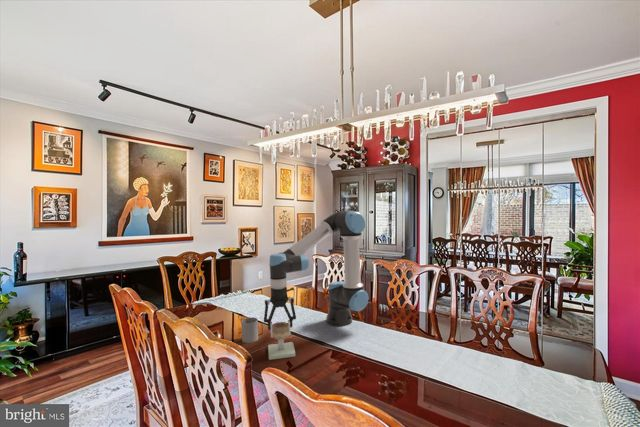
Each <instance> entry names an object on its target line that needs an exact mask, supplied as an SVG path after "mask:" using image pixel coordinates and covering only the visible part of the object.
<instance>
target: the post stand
mask: <svg viewBox="0 0 640 427" xmlns="http://www.w3.org/2000/svg"><path fill="white" fill-rule="evenodd" d="M267 348H268V360H269V361H270V360H278V359H286V358H293V357H296V350H295V345H294V342H293V341H290V342H285V339H277V343H274V344H268V345H267Z"/></svg>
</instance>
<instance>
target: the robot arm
mask: <svg viewBox="0 0 640 427" xmlns="http://www.w3.org/2000/svg"><path fill="white" fill-rule="evenodd" d="M365 228H366V219H365V217H364V216H363V214H362V213H361V212H359V211H354V210H350V211H348V210H346V211H342V210H340V211H336V212H334V213H332V214H330V215H329V216H327V217H326V218H324V219H323V220H322V221H320V223H319V225H318V226H316V228H314V229H313V230H311V231H310V232H309V233H308V234H306V235H305V236H304V237H301V239H299V240H298V241H297V242H295V243H294V244H292V245H291V246H290V247H288V249H286V250H285V251H283V252H278V253H273V254H272V253H271V255H269V276H270V278H269V280H270V281H269V282H270V298H269V299H265V300H264V305H265V307H264V316H263V323H265V324H266V323H267V330H268V331H270V338H272V339H273V334H272V324H273V321H272V319H273V317H274V314H275V310H277V309H278V308H283V309H284V310H285V313H286V315H287V318H288V319H287V323H288V325H289V336H291V334H292V333H291V329H292V328H293V326H294V325H293V321H295V320H296V319H297V316H296V311H295V306H294V302H295V300H294V297H288V287H287V282H288V281H287V274H289V273H290V274H291V273H296V272H297V273H298V272H302V271H306V270H307V269H308V268H309V265H310V262H309V257H308V256H307V255H306V253H308V252H309V251H310V250H311V249H313V248H314V247H315V246H317V245H318V244H319V243H321V242H322V241H323V240H324V239H326V238H327V237H328V236H329V237H331V236H333V235H334V234H336V233H339V235H340V236H339V237H340V238H341V239H342V240H343V241H342V242H343V243H342V244H343V263H344V264H343V265H344V268H343V269H344V280H340V281H333V282H331V283H329V284H328V287H327V291H328V292H327V293H328V312H327V314H326V323H327V324H328V325H331V326H337V327H343V326H347V325H350V324H351V323H352V322H353V315H352V312H351V311H355V312H361V311H363V310H364V309H365V308H366V307H367V305H368V302H369V294H368V291H366V290H364V289H365V288H364V287H365V286H364V283H362V280H361V260H360V256H361V255H360V254H361V253H360V237H362V232H364V230H365ZM287 302H289V304H290V308H291V313H290V311H289V309H288V306H287V304H288V303H287ZM270 303H271V304H272V308H271V311H270V313H269V316H268V311H269V306H270ZM291 314H292V315H291Z"/></svg>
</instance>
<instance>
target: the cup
mask: <svg viewBox="0 0 640 427" xmlns="http://www.w3.org/2000/svg"><path fill="white" fill-rule="evenodd" d="M240 323H241V326H240V327H241V342H242V343H244V344H245V343H247V344H249V343H250V344H251V343H254V342H255V343H256V342H257V341H258V340H259V324H258V323H259V322H258V318H257V317H254V316H253V317H246V318H243V319H242V320H241V322H240Z"/></svg>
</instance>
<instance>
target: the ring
mask: <svg viewBox="0 0 640 427" xmlns="http://www.w3.org/2000/svg"><path fill="white" fill-rule="evenodd" d="M272 334H273V337H272V339H275V340H278V339H284V340H285V339H287V338H288V337H290V335H289V325H288V322H285V321H279V322H278V321H277V322H275V323H272Z"/></svg>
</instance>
